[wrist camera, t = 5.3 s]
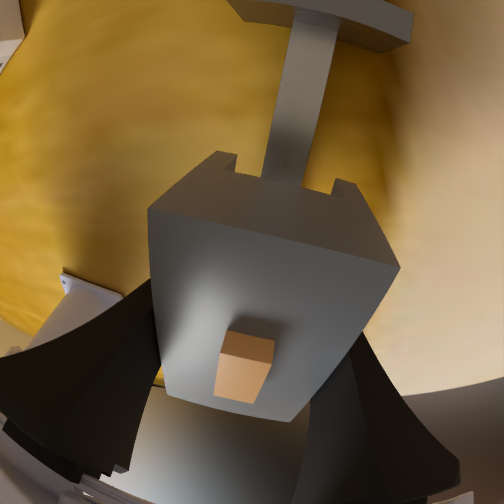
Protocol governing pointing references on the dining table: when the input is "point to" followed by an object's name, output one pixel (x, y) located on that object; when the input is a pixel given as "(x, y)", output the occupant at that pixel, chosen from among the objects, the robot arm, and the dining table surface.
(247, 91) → the dining table surface
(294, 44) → the rail
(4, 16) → the container
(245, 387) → the block
